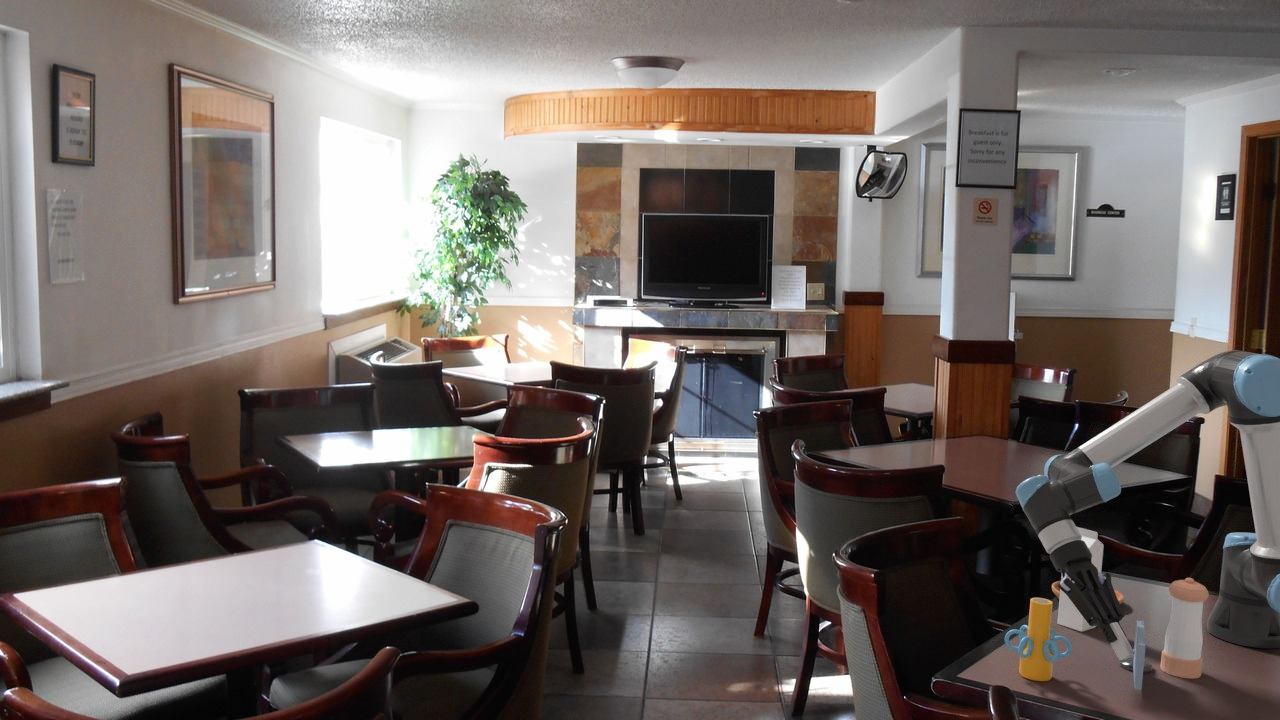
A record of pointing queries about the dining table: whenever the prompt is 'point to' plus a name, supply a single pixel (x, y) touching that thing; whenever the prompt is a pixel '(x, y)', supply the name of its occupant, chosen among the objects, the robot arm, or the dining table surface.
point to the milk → (1067, 609)
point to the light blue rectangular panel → (1139, 655)
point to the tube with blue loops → (1038, 642)
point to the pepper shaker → (1184, 630)
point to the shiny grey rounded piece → (1128, 665)
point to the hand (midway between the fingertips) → (1127, 656)
